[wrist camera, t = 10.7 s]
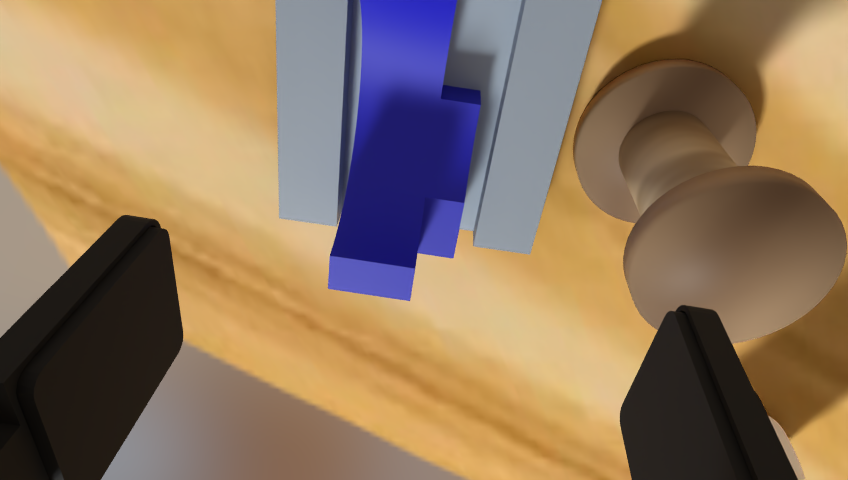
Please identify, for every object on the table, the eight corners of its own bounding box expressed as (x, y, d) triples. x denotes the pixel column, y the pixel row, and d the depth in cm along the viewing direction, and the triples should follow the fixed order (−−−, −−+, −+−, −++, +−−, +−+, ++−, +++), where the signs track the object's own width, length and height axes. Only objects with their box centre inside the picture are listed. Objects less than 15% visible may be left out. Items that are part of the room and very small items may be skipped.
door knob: (777, 73, 23) (920, 187, 16) (706, 222, 27) (793, 369, 20) (600, 46, 23) (659, 148, 16) (555, 200, 27) (585, 339, 20)
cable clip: (455, 218, 27) (450, 307, 22) (355, 203, 26) (328, 288, 22) (514, -82, 20) (527, -54, 15) (380, -104, 20) (348, -83, 15)
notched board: (619, -122, 20) (635, -117, 18) (526, 224, 28) (530, 254, 26) (292, -172, 20) (272, -173, 18) (293, 190, 28) (279, 218, 26)
